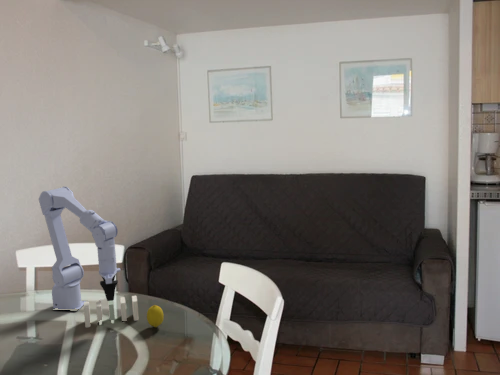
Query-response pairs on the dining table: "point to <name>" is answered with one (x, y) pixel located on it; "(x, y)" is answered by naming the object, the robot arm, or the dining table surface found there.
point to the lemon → (155, 316)
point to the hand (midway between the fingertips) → (110, 295)
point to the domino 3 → (111, 310)
